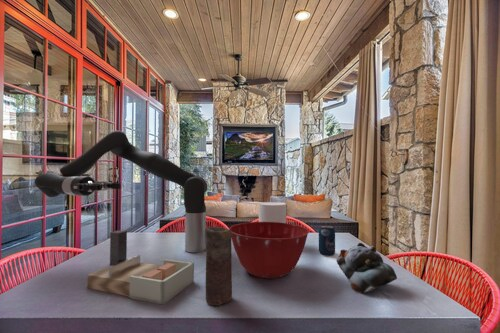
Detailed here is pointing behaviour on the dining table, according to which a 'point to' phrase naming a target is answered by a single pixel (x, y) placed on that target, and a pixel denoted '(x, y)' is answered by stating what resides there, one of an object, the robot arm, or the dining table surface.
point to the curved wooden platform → (117, 279)
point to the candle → (218, 265)
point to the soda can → (326, 240)
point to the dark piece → (120, 254)
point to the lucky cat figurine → (365, 268)
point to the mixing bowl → (268, 247)
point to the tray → (162, 284)
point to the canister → (272, 212)
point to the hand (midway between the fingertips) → (110, 186)
